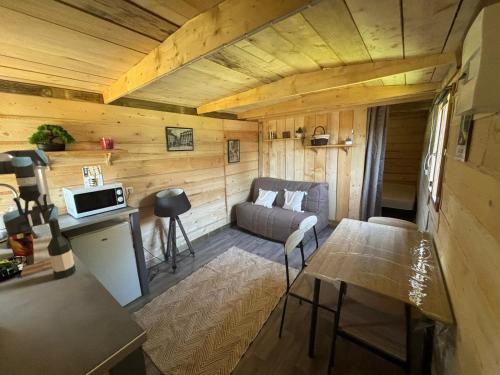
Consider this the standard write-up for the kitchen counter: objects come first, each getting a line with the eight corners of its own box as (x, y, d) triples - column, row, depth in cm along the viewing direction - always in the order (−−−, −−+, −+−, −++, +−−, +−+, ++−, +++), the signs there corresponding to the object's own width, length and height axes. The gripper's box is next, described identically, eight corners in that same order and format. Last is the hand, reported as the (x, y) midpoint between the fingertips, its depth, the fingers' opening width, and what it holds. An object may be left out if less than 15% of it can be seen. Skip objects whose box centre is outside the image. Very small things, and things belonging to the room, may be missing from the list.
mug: (35, 256, 127) (30, 238, 124) (9, 258, 125) (3, 240, 123) (48, 248, 136) (43, 231, 134) (24, 250, 134) (19, 233, 132)
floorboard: (24, 268, 114) (23, 266, 114) (63, 257, 124) (62, 255, 124) (21, 277, 106) (20, 275, 106) (63, 265, 116) (62, 262, 116)
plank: (33, 241, 127) (33, 239, 126) (51, 237, 132) (51, 235, 131) (34, 265, 117) (34, 263, 116) (54, 259, 122) (53, 258, 121)
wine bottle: (53, 274, 108) (40, 219, 102) (74, 267, 114) (62, 214, 108) (55, 281, 102) (41, 223, 96) (77, 273, 108) (65, 218, 102)
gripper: (3, 188, 109) (14, 230, 113) (48, 183, 120) (57, 222, 124) (6, 186, 114) (17, 226, 119) (49, 181, 125) (57, 219, 130)
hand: (37, 224), depth 122 cm, fingers open, 4 cm apart
